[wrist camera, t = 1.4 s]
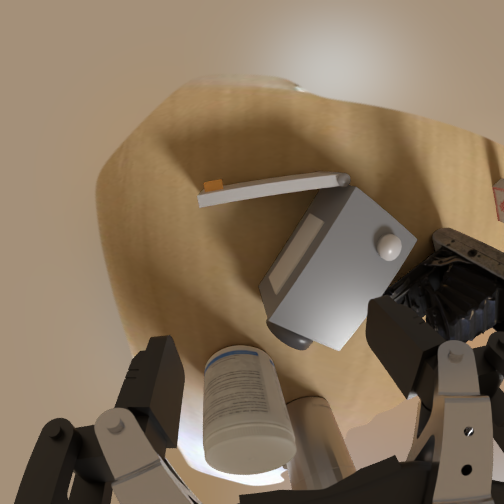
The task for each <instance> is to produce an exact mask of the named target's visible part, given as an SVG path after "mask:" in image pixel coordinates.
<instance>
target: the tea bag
mask: <svg viewBox="0 0 504 504" xmlns="http://www.w3.org/2000/svg"><path fill="white" fill-rule="evenodd" d="M493 192H494V198H495V203H496V210H497V217H498V221H501V222H503V223H504V179H503V178H501V179H500V180H499V181H498V182H497V183H496V184H495V185H494V186H493Z"/></svg>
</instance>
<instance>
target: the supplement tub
mask: <svg viewBox="0 0 504 504" xmlns="http://www.w3.org/2000/svg"><path fill="white" fill-rule="evenodd" d="M203 446H204V451H205V460H206V462H207V463H208V464H209V465H210V466H211V467H212V468H214V469H216V470H218V471H221V472H225V473H229V474H238V475H250V474H259V473H264V472H268V471H271V470H274V469H277V468H279V467H281V466H283V465H285V464H286V463H288V462H289V461H290V460H291V459H292V458H293V457H294V456H295V454H296V444H295V436H294V432H293V429H292V425H291V422H290V418H289V415H288V411H287V408H286V404H285V401H284V397H283V394H282V390H281V387H280V383H279V380H278V376H277V372H276V369H275V366H274V363H273V361H272V359H271V358H270V356H269V355H268V354H267V353H265V352H264V351H262V350H260V349H258V348H255V347H251V346H244V345H236V346H230V347H226V348H224V349H221V350H219V351H218V352H216V353H215V354H214V355H212V356H211V358H210V359H209V360H208V362H207V364H206V366H205V371H204V400H203Z"/></svg>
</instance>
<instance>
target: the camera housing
mask: <svg viewBox="0 0 504 504" xmlns="http://www.w3.org/2000/svg"><path fill="white" fill-rule="evenodd" d="M417 240H418V239H417V238H416V237H414V236H413V235H412V234H411V233H410V232H409V231H408V230H407V229H406V228H405V227H404V226H402V225H401V224H400V223H399V222H398V221H397V220H396V219H395V218H393V217H392V216H391V215H390V214H389V213H388V212H387V211H385V210H384V209H383V208H382V207H381V206H379V205H378V204H377V203H376V202H375V201H373V200H372V199H371V198H370V197H369V196H367V195H366V194H365V193H364V192H362V191H361V190H360V189H359V188H357V187H355V186H350V185H348V186H346V187H342V186H336V187H327V188H321V189H320V190H319V192H318V193H317V195H316V197H315V198H314V200H313V202H312V203H311V205H310V206H309V208H308V210H307V211H306V213H305V214H304V216H303V218H302V219H301V221H300V222H299V224H298V226H297V227H296V229H295V230H294V232H293V233H292V235H291V237H290V238H289V240H288V241H287V243H286V244H285V246H284V248H283V249H282V251H281V252H280V254H279V255H278V257H277V258H276V260H275V262H274V263H273V265H272V266H271V268H270V269H269V271H268V272H267V274H266V275H265V277H264V278H263V280H262V282H261V283H260V285H259V290H260V293H261V297H262V300H263V304H264V307H265V311H266V314H267V320H266V323H267V326H268V328H269V329H270V331H271V332H272V333H273V334H274V335H275V336H276V337H277V338H278V339H279V340H280V341H282V342H283V343H285V344H286V345H288V346H290V347H292V348H295V349H298V350H306V349H307V348H308V347H309V346H310V345H311V344H312V342H313V341H316V342H318V343H321V344H323V345H325V346H328V347H330V348H333V349H335V350H338V351H340V350H341V348H342V347H343V346H344V345H345V343H346V342H347V341H348V340H349V339H350V337H351V336H352V335H353V334H354V332H355V331H356V330H357V328H358V327H359V326H360V325H361V323H362V322H363V321H364V319H365V318H366V317H367V311H368V302H369V300H370V299H374V298H377V297H381V296H382V295H383V293H384V292H385V290H386V289H387V287H388V286H389V284H390V283H391V281H392V280H393V278H394V277H395V275H396V274H397V272H398V271H399V269H400V268H401V266H402V264H403V263H404V261H405V260H406V258H407V256H408V255H409V253H410V251H411V250H412V248H413V246H414V245H415V243H416V241H417Z"/></svg>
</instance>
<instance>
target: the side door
mask: <svg viewBox="0 0 504 504" xmlns="http://www.w3.org/2000/svg"><path fill="white" fill-rule="evenodd" d="M350 181H351V179H350V176H349V175H348V174H346V173H339V172H328V171H317V172H314V173H305V174H297V175H290V176H282V177H275V178H268V179H261V180H255V181H249V182H242V183H236V184H231V185H225V186H223V182H222V179H219V180H213V181H208V182H204V183H203V184H204V189H203V190H202V191H201V192H200V193H199V194H198V195H197V198H198V203H199V208H201V207H206V206H212V205H217V204H222V203H228V202H234V201H239V200H245V199H251V198H257V197H264V196H270V195H277V194H283V193H290V192H297V191H304V190H312V189H319V188H327V187H336V186H342V187H346V186H348V185H349V184H350Z"/></svg>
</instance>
